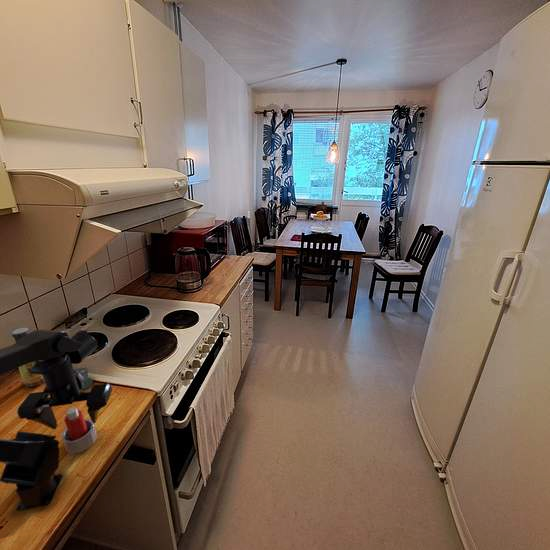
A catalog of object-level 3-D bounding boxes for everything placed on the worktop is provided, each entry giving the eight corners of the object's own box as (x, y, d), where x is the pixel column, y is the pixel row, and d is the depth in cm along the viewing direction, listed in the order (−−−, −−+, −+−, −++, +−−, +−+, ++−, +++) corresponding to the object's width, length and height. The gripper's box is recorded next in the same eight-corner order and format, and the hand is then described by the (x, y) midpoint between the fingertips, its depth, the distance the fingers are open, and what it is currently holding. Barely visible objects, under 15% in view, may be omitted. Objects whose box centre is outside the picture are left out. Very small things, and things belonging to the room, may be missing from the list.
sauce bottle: (35, 389, 93) (15, 338, 86) (19, 386, 95) (-1, 336, 87) (53, 375, 99) (36, 327, 92) (38, 373, 101) (20, 324, 93)
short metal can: (91, 452, 74) (87, 439, 72) (61, 457, 73) (56, 444, 71) (101, 428, 80) (97, 417, 79) (73, 433, 79) (68, 421, 77)
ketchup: (86, 446, 75) (76, 415, 71) (70, 449, 74) (59, 418, 70) (92, 433, 78) (82, 403, 74) (76, 436, 78) (66, 405, 74)
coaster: (87, 391, 93) (87, 390, 93) (63, 394, 92) (63, 393, 91) (95, 376, 99) (95, 375, 99) (72, 379, 98) (72, 378, 98)
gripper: (112, 351, 77) (123, 396, 83) (34, 360, 74) (50, 405, 79) (98, 380, 67) (111, 428, 73) (6, 391, 63) (27, 441, 69)
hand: (75, 424), depth 74 cm, fingers open, 9 cm apart
